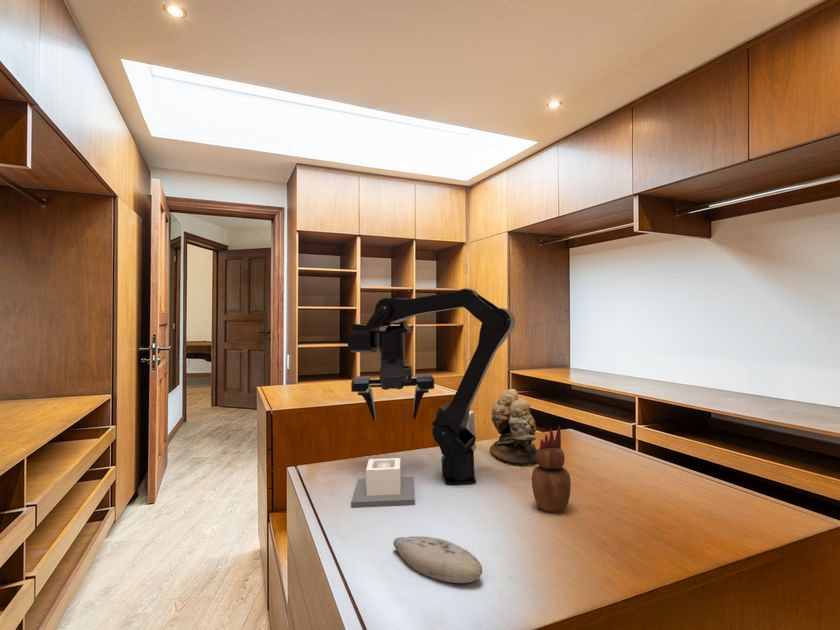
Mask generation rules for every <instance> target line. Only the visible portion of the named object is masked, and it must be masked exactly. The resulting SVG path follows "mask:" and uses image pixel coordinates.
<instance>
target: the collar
mask: <svg viewBox="0 0 840 630" xmlns="http://www.w3.org/2000/svg"><path fill="white" fill-rule="evenodd" d="M380 462H389V463H390V467H387V468H377V464H378V463H380ZM401 469H402V467H401V457H392V458H390V457H389V458H369V459H368V461H367V465H366V469H365V478H366V489H367V496H374V495H399V494H401V477H402V472H401V471H402V470H401Z"/></svg>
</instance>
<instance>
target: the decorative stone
mask: <svg viewBox="0 0 840 630" xmlns="http://www.w3.org/2000/svg"><path fill="white" fill-rule="evenodd" d="M392 543H393V548H395V550H396V551H397V552H398V554H399V555H400V557H402V558H403V561H405V562H406V563H407V565H409V566H410V567H411V568H413V569H414V570H415V571H417V572H419V573H420V574H422V575H424V576H427V577H429V578H432V579H434V580H439V581H443V582H447V583H451V584H468V583H472V582H474V581H477V580H478V579H479V578H480V577H481V576H482V574H483V567H482V564H481V563H480V561H479V560H478V558H477V557H476V556H475V555H473V554H472V553H471V552H470V551H468V550H467V549H465V548H464V547H462V546H459V545H458V544H457V543H456V544H455V543H454V542H451V541H449V540H446V539H443V538H437V537H432V536H416V535H414V536H411V535H410V536H407V537H406V536H402V537H397V538H395V539H394V540H393V542H392Z"/></svg>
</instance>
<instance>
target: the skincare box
mask: <svg viewBox="0 0 840 630" xmlns="http://www.w3.org/2000/svg"><path fill="white" fill-rule="evenodd" d="M466 428H467V429H468V430H469V431H470V432H471V433H472V434H473V435H474V436H475V437H476V426H475V410H469V418H468V422H467V426H466ZM471 448H472V449H473V451H474V450H475V449H476V448H477V445H476V441H475V442H474V445H473V446H472V447H471Z"/></svg>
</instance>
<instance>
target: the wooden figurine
mask: <svg viewBox="0 0 840 630" xmlns="http://www.w3.org/2000/svg"><path fill="white" fill-rule="evenodd" d="M553 431H554V430H553V428H550V430H549V437H548V434H545V435H544V439H543V438H541V439H540V443H539V447H538V449H537V448H536V449H537V453H536V459H537V463H538V464H537V465H538V466H536V467H534V468H533V470H532V476H531V487H532V492H533V493H532V494H533V497H534V500H535V502H536V504H537V506H538V507H539V508H540V509H541V510H542V511H546V512H550V513H556V512H557V513H560V512H563V511H564V510H566V509H567V507H568V505H569V501H570V496H571V489H572V488H571V486H572V485H571V484H572V483H571V482H572V481H571V476H570V472H569V471H568V470H567V469H566V468H564V467H563V466H564V464H565V460H566V458H565V452H564V450H563V449H562V437H561V435H562V434H561V433H562V432H561V426H560V425H558V427H557V430H556V434H555V436H554V432H553Z"/></svg>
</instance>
